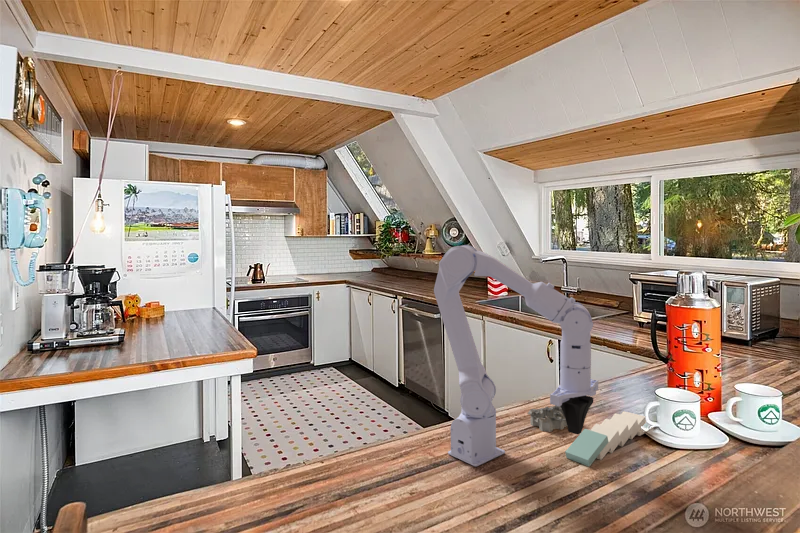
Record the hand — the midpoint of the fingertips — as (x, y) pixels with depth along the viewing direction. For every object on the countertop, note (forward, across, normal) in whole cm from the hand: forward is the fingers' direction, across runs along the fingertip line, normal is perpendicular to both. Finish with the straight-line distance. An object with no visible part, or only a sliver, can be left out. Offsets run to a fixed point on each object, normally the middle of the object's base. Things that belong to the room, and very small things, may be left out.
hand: (574, 432), depth 97 cm
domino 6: (+6, +23, 0) cm, 24 cm away
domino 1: (+6, +1, 0) cm, 6 cm away
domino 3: (+6, +10, 0) cm, 11 cm away
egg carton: (+7, +15, +14) cm, 22 cm away
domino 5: (+6, +19, 0) cm, 20 cm away
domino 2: (+6, +5, 0) cm, 8 cm away
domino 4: (+6, +14, 0) cm, 16 cm away
